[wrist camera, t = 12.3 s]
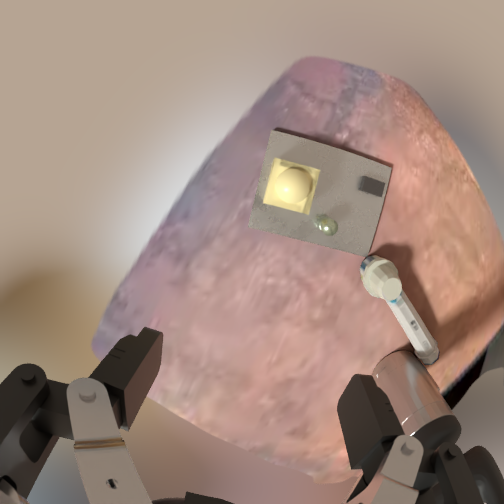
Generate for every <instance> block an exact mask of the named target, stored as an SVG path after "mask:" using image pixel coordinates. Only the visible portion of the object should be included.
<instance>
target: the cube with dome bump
mask: <svg viewBox="0 0 504 504" xmlns="http://www.w3.org/2000/svg"><path fill="white" fill-rule="evenodd" d="M319 173H320V170H319V169H315V168H312V167H308V166H305V165H301V164H298V163H294V162H290V161H286V160H282V159H278V158H274V160H273V162H272V166H271V171H270V175H269V179H268V183H267V187H266V191H265V195H264V199H263V203H265V204H269V205H273V206H277V207H281V208H285V209H289V210H293V211H296V212H300V213H304V214H308V215H309V212H310V208H311V204H312V200H313V197H314V193H315V189H316V185H317V181H318V177H319Z"/></svg>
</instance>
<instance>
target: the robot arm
mask: <svg viewBox="0 0 504 504" xmlns="http://www.w3.org/2000/svg"><path fill="white" fill-rule="evenodd" d="M162 344H163V333H162V332H159V331H156V330H153V329H150V328H147V327H144V328H143V329H142V331H141V332H140V333H139V335H138V336H137V337H136V336H133V335H128V336H126V337H124V338H122V339H120V340H119V341H118V342H117V343H116V345H115V346H114V348H112V349H111V351H110V352H109V353H108V355H106V357H105V358H104V359H103V360H102V361H101V363H100V364H99V365H98V367H97V368H96V369H95V370H94V371H93V373H92V374H91V375H90V376H89V377H88V378H79V379H76V380H74V381H73V382H71V383H70V384H65V383H61V382H57V381H52V380H49V379H47V377H46V374H45V372H44V370H43V369H42V368H40V367H39V366H37V365H35V364H22V365H20V366H18V367H16V368H15V369H14V370H13V371H12V372H11V373H10V374H9V375H8V377H7V378H6V379H5V380H4V381H3V382H2V383H1V384H0V504H30V503H29V502H28V501H27V500H26V499H27V497H28V495H29V493H30V491H31V489H32V487H33V485H34V483H35V481H36V479H37V477H38V475H39V473H40V472H41V470H42V468H43V466H44V464H45V462H46V460H47V458H48V457H49V455H50V453H51V451H52V449H53V448H54V446H55V444H56V442H57V441H58V439H59V437H63V438H67V439H71V440H74V441H75V444H74V452H75V456H76V460H77V464H78V468H79V471H80V475H81V478H82V481H83V485H84V488H85V491H86V494H87V497H88V500H89V502H90V504H233V503H231V502H228V501H225V500H223V499H218V498H213V497H208V496H203V495H199V494H194V493H190V492H186V496H185V498H164V499H158V500H153V501H151V499H150V498H149V496H148V494H147V492H146V490H145V488H144V486H143V484H142V481H141V479H140V477H139V475H138V472H137V470H136V468H135V466H134V463H133V461H132V459H131V456H130V454H129V451H128V449H127V446H126V444H125V442H124V440H122V437H121V435H120V432H119V429H120V428H122V429H124V430H126V431H129V429H130V427H131V425H132V423H133V421H134V419H135V417H136V415H137V413H138V411H139V409H140V407H141V405H142V403H143V401H144V399H145V398H146V396H147V394H148V392H149V390H150V388H151V386H152V384H153V382H154V380H155V378H156V376H157V374H158V372H159V369H160V365H161V355H162ZM439 390H440V389H439V387H438V385H437V384H436V382H435V381H434V379H433V378H432V376H431V375H430V374H429V372H428V371H427V369H426V368H425V367H424V365H423V364H422V362H421V361H420V360H419V359H418V358H415V356H414V355H413V354H412V353H411V352H409V351H405V350H402V351H397V352H394V353H392V354H390V355H388V356H386V357H385V358H384V359H382V360H381V361H380V362H379V363H378V365H377V366H376V367H375V369H374V371H373V374H372V376H371V375H361V374H355V375H354V376H353V377H352V378H351V380H350V382H349V384H348V385H347V387H346V389H345V390H344V392H343V394H342V395H341V397H340V399H339V401H338V406H337V412H338V416H339V420H340V424H341V428H342V432H343V436H344V440H345V444H346V448H347V453H348V457H349V461H350V466H351V470H352V469H362V470H363V473H362V474H361V475H360V476H359V477H358V479H357V481H356V482H355V484H354V485H353V487H352V489H351V490H350V492H349V493H348V495H347V496H346V498H345V499H344V501H343V502H342V504H484V503H487V504H504V479H503V476H502V474H501V472H500V470H499V468H498V466H497V464H496V462H495V460H494V458H493V457H492V455H491V454H490V453H489V452H488V451H487V450H486V449H485V448H484V447H482V446H475V447H473V448H472V449H470V450H469V451H467V452H466V453H464V454H463V453H462V451H461V449H460V448H459V447H458V446H457V445H455V443H456V441H457V440H458V438H459V436H460V434H461V426H460V423H459V422H458V420H457V418H456V417H455V415H454V414H453V412H452V411H451V409H450V407H449V406H448V404H447V403H446V401H445V400H444V398H443V397H442V395H441V394H440V392H439Z"/></svg>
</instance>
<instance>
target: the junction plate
mask: <svg viewBox="0 0 504 504" xmlns="http://www.w3.org/2000/svg"><path fill="white" fill-rule="evenodd" d="M274 158H278V159H282V160H286V161H290V162H294V163H298V164H301V165H305V166H308V167H312V168H315V169H319V170H320V173H319V177H318V181H317V185H316V189H315V193H314V197H313V200H312V204H311V208H310V212H309V215H308V214H304V213H300V212H296V211H293V210H289V209H285V208H281V207H277V206H273V205H269V204H265V203H263V199H264V195H265V191H266V187H267V183H268V179H269V175H270V171H271V166H272V162H273V160H274ZM391 169H392V168H391V167H388V166H386V165H383V164H380V163H378V162H375V161H373V160H370V159H367V158H364V157H362V156H359V155H356V154H353V153H350V152H347V151H344V150H341V149H338V148H335V147H332V146H329V145H325V144H322V143H319V142H315V141H312V140H309V139H305V138H301V137H298V136H294V135H290V134H286V133H282V132H278V131H274V130H271V134H270V138H269V142H268V146H267V150H266V154H265V158H264V162H263V166H262V171H261V175H260V179H259V183H258V187H257V191H256V195H255V200H254V204H253V208H252V212H251V216H250V220H249V225H248V227H249V228H253V229H257V230H262V231H266V232H270V233H274V234H278V235H282V236H286V237H290V238H294V239H298V240H302V241H306V242H310V243H314V244H318V245H322V246H325V247H329V248H333V249H337V250H341V251H345V252H348V253H352V254H356V255H360V256H363V257H367V256H368V253H369V250H370V247H371V244H372V240H373V237H374V234H375V231H376V227H377V224H378V220H379V217H380V213H381V210H382V206H383V202H384V198H385V194H386V190H387V186H388V182H389V178H390V174H391Z"/></svg>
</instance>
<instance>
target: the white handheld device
mask: <svg viewBox="0 0 504 504" xmlns="http://www.w3.org/2000/svg"><path fill="white" fill-rule="evenodd" d="M360 273H361V280H362V281H363V285H364V287H365V288H366V290H367V291H368V292H369V294H370V295H372V296H375V297H377V298H382V299H385V300H386V302H387V304H388V305H389V307H390V308H391V310H392V312H393V313H394V315H395V316H396V318H397V320H398V321H399V323H400V325H401V326H402V328H403V330H404V331H405V333H406V335H407V337H408V338H409V340H410V342H411V343H412V345H413V347H414V349H415V351H414V353H415V354H416V355H417V357H418V358H419V359H421V360H422V362H423V363H424V364H425V365H432V364H433V363H434V362H436V361H437V360H438V358H439V353H440V351H439V349H438V347H437V344H438V343H437V341H436V340H435V339H434V338H433V337H432V336H431V334H430V333H429V331H428V329H427V328H426V326H425V324H424V323H423V321H422V319H421V318H420V316H419V314H418V313H417V311H416V310H415V308H414V307H413V305H412V303H411V302H410V300H409V299H408V297H407V296H406V294H405V293H404V291H403V290H402V284H401V280H400V279H399V277H398V270H397V268H396V267H395V265H394V264H393V263H392V262H391V261H389V260H387V259H385V258H381V257H379V256H377V255H374V256H369V257H367V258H366V259H365V260H364V261H363V262H362V264H361V267H360Z"/></svg>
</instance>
